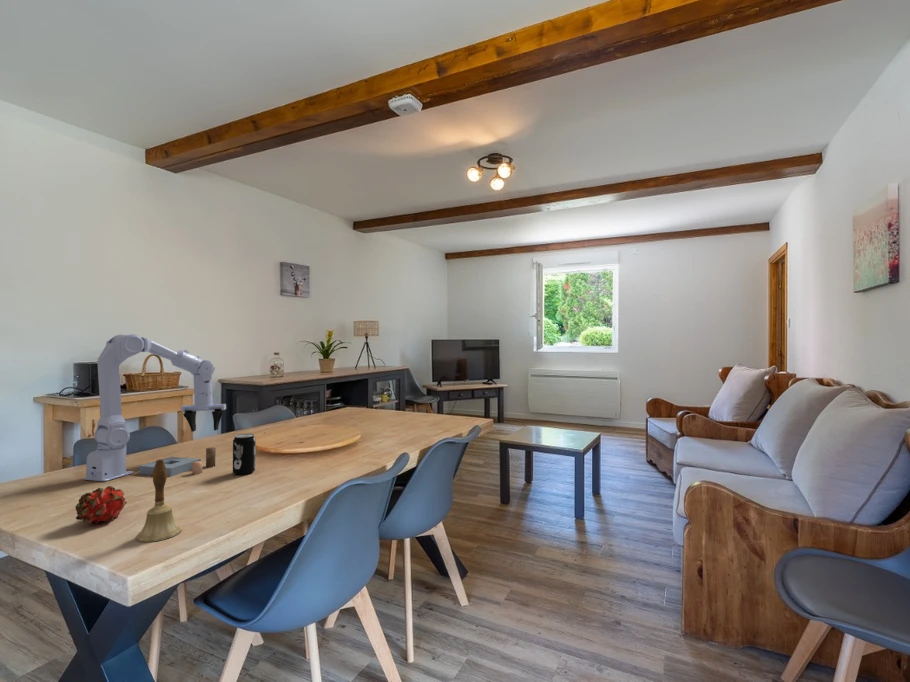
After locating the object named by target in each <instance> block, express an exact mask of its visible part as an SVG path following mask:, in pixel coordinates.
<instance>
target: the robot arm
mask: <svg viewBox="0 0 910 682" xmlns="http://www.w3.org/2000/svg"><path fill="white" fill-rule="evenodd" d="M146 352H147V353H149V354H152V355H155V356H157V357H161V358H163V359H166V360H169V361H170V363H171V364H172V366H174V367H176V368H179V369H181V370H184V371H187V372H188V373H190V375H192V376H193V377H192V378H193V395H194V401H193V402H194V404H192V405H181V407H180V410H181V413H183V414H182V415H183V417H184V418H185V420H186V421H187V423H188V425H189V427H190V431H191V433H193V432H195V431H196V430H197V424H196V423H197V422H196V419H197V418H196V417H197V412H202V411H204V412H205V411H206V412H207V411H211V414H212V419H213V420H212V421H213V431H217V430H219V426H220V422H221V419H222V416H223V414H224V412H225V410H227V404H226V403H213V402H214V401H213V399H214V398H213V381H212V379H213V377H212V375H213V374H214V372H215V370H216V367H214V365H213V363H212V362H211V361H210V360H206V359H202V357H201V356H195V355H194V354H191V353H190V351H188V350H186V349H184V350H178V351H175V350H172V349H171V348H168V347H166V346H164V345H163V344H160V343H158V342H156V341H153V340H151V339H149V338H147V337H143V336H140V335H138V334H117V335H114V336H113V337H112V338H110V339H109V340H107V341H106V342H105V347H104V348H103V350H102V351H101V353H100V354H99V356H98V358H97V377H98V391H99V392H98V393H99V394H98V395H99V396H98V397H99V409H100V418H98V421H97V423H96V425H97V426H96V429H95V432H94V434H93V435H94V436H93V437H94V440H95V441H96V442H97V443H98V444H97V447H96V449H95V451H91V452H89V453H88V455H87V456H86V460H85V461H86V463H85V464H86V466H85V467H86V468H85V469H86V470H85V476H86V477H83V480H86V481H96V482H107V481H110V480H113V479H118V478H120V477H125V476H127V475H130V474H131V475H132V474H133V473H134V471H133V470H131V471H130V470H127V444H128V442H129V441H130V439H131V438H130V437H131V433H130V431H129V429H128V428H127V423H126V420H125V419H124V417H123V414H122V413H123V412H122V411H123V410H122V397H121V394H122V393H121V377H120V376H121V375H120V365H121V364H122V363H124V362H125V361H126V360H128V359H129V358H131V357H133V356H136V355H137V354H140V353H146Z"/></svg>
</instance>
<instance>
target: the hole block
mask: <svg viewBox="0 0 910 682" xmlns="http://www.w3.org/2000/svg"><path fill="white" fill-rule="evenodd" d="M162 459H163V461H164V464H165V466H166V470H167V477H173V476H177V475H180V474H183V473H185V472H186V473H187V472H189V471H192V470H191V469H192V462H196V461H202V459H201V458H192V457H179V456H178V457H177V456H169V457H166V458H162ZM155 464H156V460H155V461H152V462H148V463H145V464H141V465H139V466H138V469H139V470H138V474H139V475H149V476H153V469H154V466H155Z"/></svg>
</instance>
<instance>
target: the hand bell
mask: <svg viewBox="0 0 910 682" xmlns="http://www.w3.org/2000/svg"><path fill="white" fill-rule="evenodd" d="M163 459H164V458H160V459H156V460H155V461H156V464H155V466H154V469H153V475H152V484H153V485H154V491H155V492H154V506H153V507H151V508H149V509H148V510H147V512H146V519H145V521H144V522H145V523H144V525H143V527H142V528H141V531H140V532H138V533H137V535H136V538H135V539H136V541H138V542H141V543H152V542H159V541H163V540H167V539H170V538H173V537H176V536H177V535H179V534H180V533H181V532H182V530H183V527H182V526H181V525H180V524H179V523H177V522H176V520H175V518H174V515H173V510H172V507H171V506H170V505H166V504H165V485H166V482H167V477H168V476H167V470H166V466H165V464H164V461H163Z"/></svg>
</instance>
